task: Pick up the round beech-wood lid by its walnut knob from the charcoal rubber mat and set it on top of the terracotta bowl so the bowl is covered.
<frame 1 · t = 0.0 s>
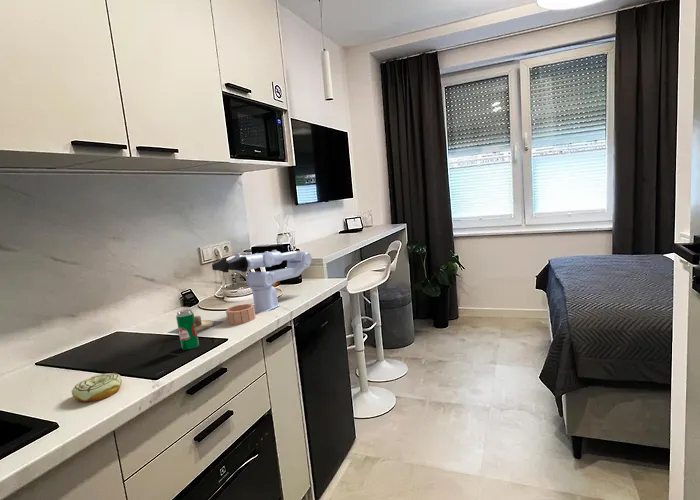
hand: (220, 266, 143), 22 cm above the worktop, tool horizontal, fingers open, 7 cm apart
lid: (196, 327, 147), resting on mat
mat: (196, 328, 147), on the worktop
decorated donut: (99, 394, 100), on the worktop
soda can: (191, 348, 126), on the worktop
bowl: (242, 320, 150), on the worktop
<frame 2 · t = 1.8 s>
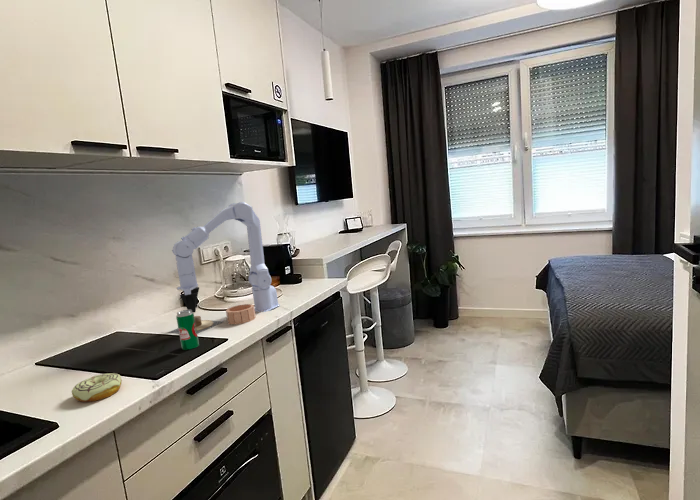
hand: (193, 310, 146), 7 cm above the worktop, tool pointing down, fingers open, 7 cm apart
nothing on the worktop moved.
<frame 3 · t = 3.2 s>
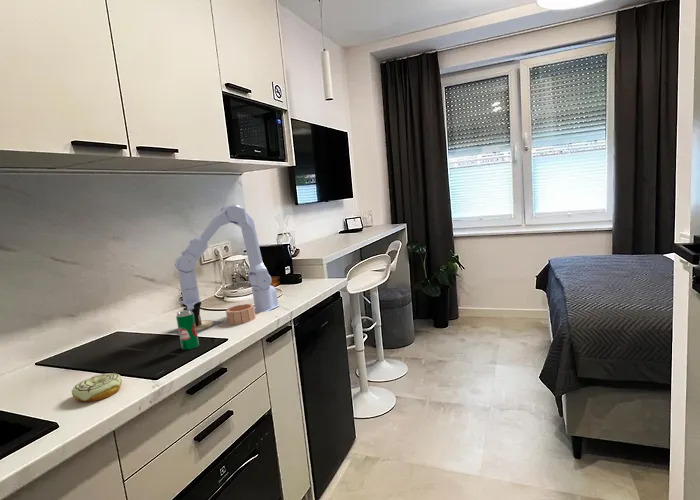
hand: (195, 324, 147), 2 cm above the worktop, tool pointing down, fingers closed on lid, 4 cm apart
lid: (196, 326, 147), resting on mat, touching gripper
everything else where it was.
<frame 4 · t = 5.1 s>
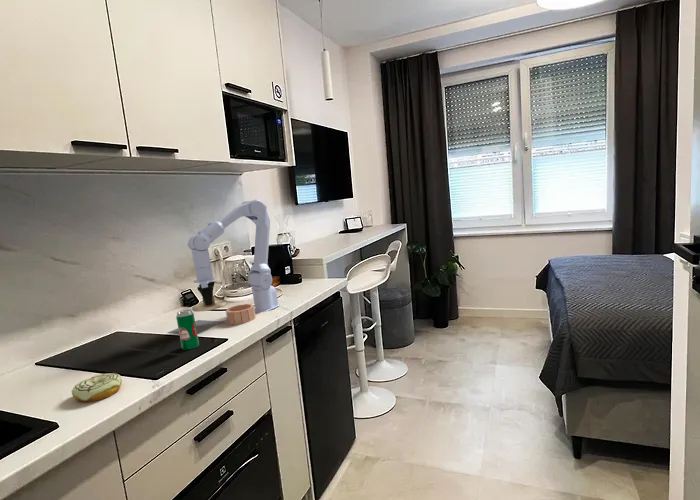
hand: (209, 303, 147), 8 cm above the worktop, tool pointing down, fingers closed on lid, 4 cm apart
lid: (209, 306, 147), point 7 cm above the worktop, touching gripper
everything else where it was.
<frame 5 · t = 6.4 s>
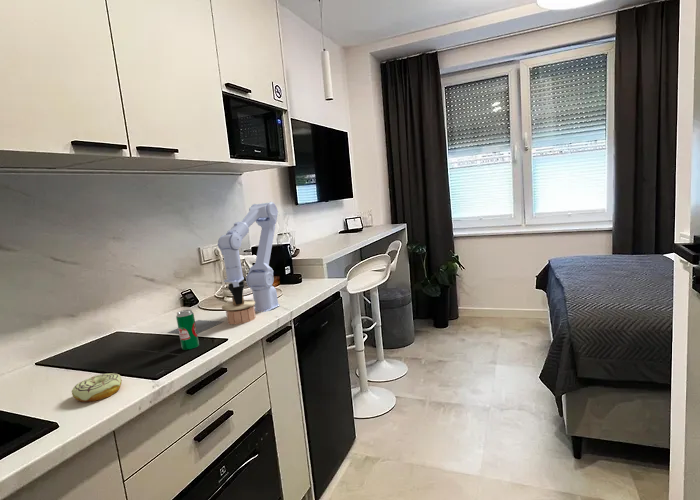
hand: (239, 302, 149), 7 cm above the worktop, tool pointing down, fingers closed on lid, 4 cm apart
lid: (238, 305, 149), point 6 cm above the worktop, touching gripper
everything else where it was.
when the fingers open (7 cm above the worktop, at t = 7.2 s): lid stays where it is, resting on bowl.
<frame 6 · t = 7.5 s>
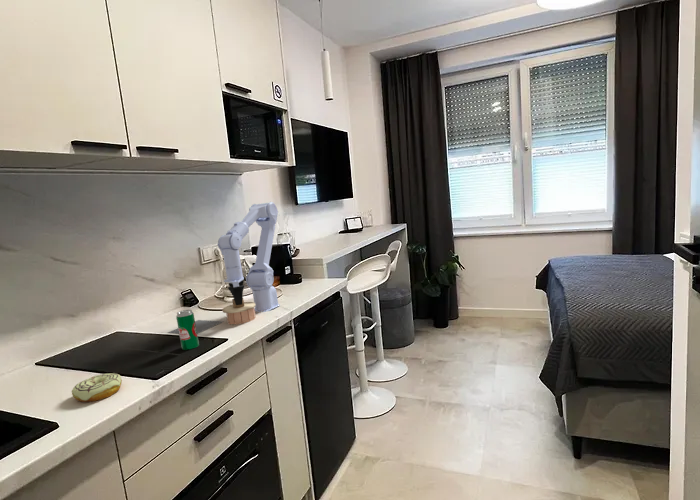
hand: (239, 302, 149), 7 cm above the worktop, tool pointing down, fingers open, 7 cm apart
lid: (239, 308, 149), point 5 cm above the worktop, touching bowl
everything else where it was.
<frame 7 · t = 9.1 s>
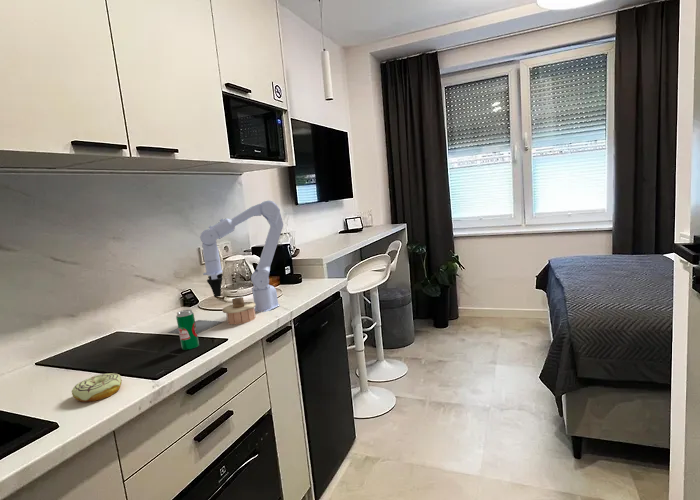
hand: (217, 294, 156), 9 cm above the worktop, tool pointing down, fingers open, 7 cm apart
nothing on the worktop moved.
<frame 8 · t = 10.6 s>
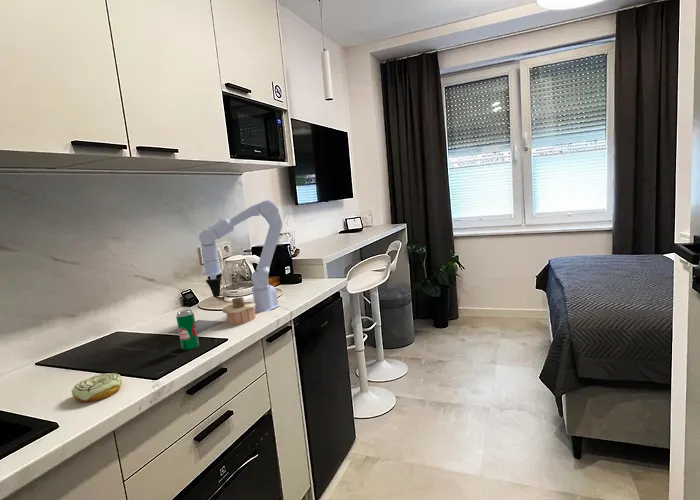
hand: (217, 294, 156), 9 cm above the worktop, tool pointing down, fingers open, 7 cm apart
nothing on the worktop moved.
at the end: lid 0.3 cm off-centre on the bowl, point 5.0 cm above the bowl's base; lid tilted 0°; the gripper is holding nothing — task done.
